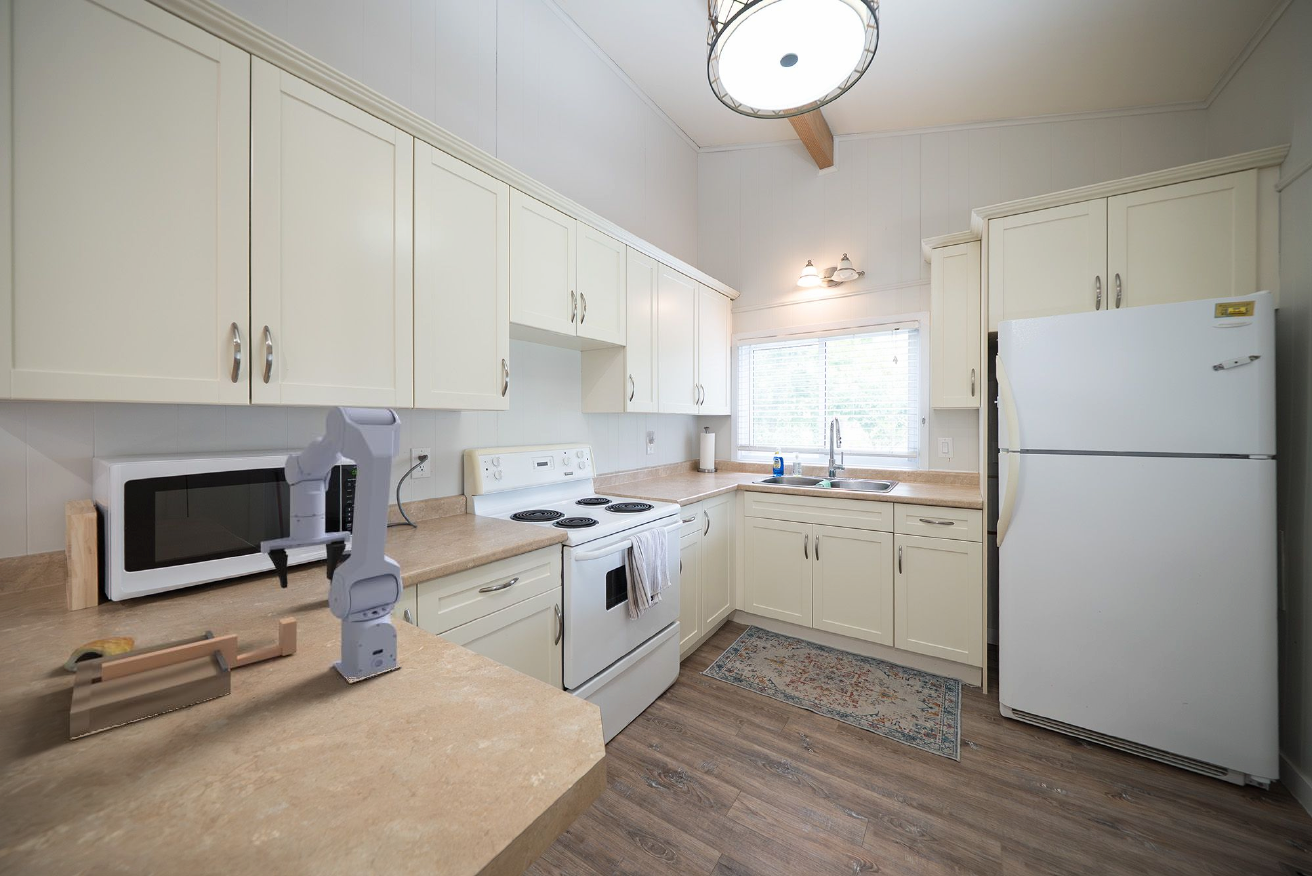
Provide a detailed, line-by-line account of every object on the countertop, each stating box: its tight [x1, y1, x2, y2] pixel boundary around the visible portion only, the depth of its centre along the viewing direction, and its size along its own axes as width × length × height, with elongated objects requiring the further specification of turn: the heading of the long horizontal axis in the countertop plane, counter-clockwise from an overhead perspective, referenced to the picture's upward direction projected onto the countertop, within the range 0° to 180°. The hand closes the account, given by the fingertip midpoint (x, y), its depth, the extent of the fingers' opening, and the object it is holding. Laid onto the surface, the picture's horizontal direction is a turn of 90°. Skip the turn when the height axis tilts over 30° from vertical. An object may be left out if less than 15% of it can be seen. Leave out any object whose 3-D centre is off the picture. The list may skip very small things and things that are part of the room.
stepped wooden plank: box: [102, 616, 298, 682], centre depth 80 cm, size 3×23×6 cm, turn 138°
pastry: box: [63, 636, 135, 672], centre depth 85 cm, size 9×7×4 cm
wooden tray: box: [69, 629, 232, 739], centre depth 75 cm, size 20×16×4 cm
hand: (307, 582), depth 98 cm, fingers open, 7 cm apart
